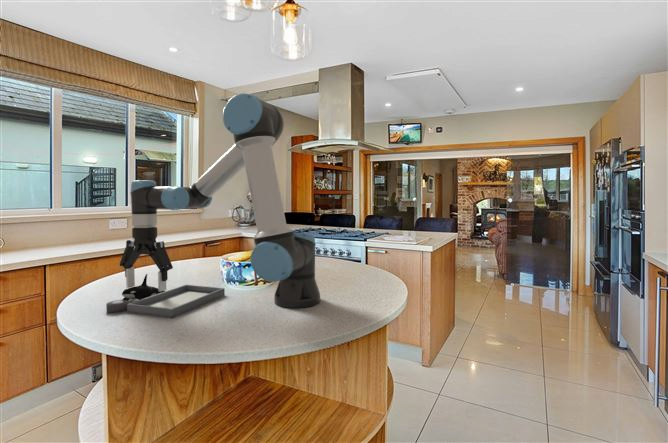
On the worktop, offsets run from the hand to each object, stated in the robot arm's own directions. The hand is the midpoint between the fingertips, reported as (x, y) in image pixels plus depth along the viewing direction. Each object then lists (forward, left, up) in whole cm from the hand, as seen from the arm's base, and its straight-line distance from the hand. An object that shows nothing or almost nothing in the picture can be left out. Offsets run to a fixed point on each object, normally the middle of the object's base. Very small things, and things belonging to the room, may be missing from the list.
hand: (146, 288), depth 123 cm
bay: (-15, +1, -3) cm, 15 cm away
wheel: (-2, +13, -3) cm, 14 cm away
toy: (0, 0, -4) cm, 4 cm away
